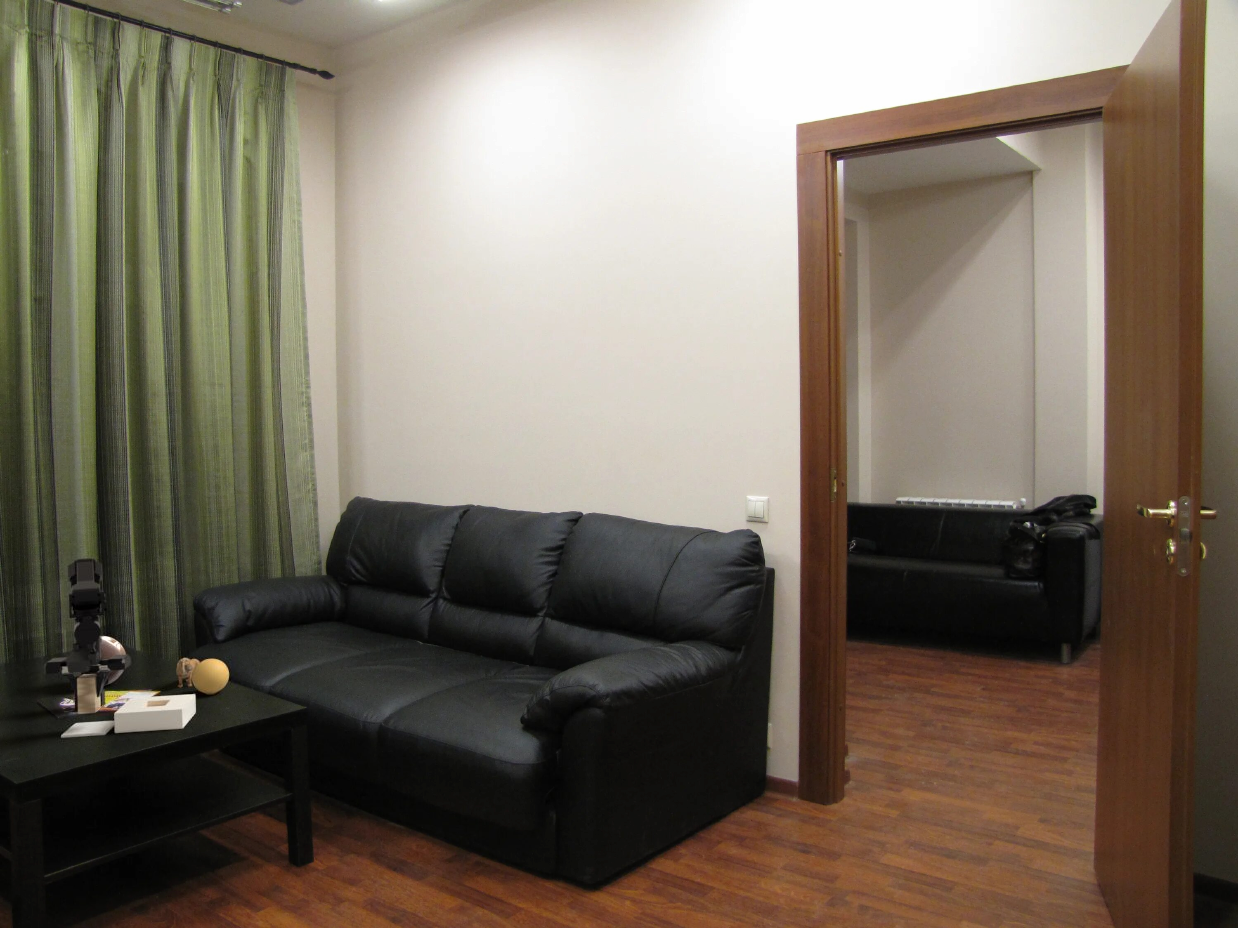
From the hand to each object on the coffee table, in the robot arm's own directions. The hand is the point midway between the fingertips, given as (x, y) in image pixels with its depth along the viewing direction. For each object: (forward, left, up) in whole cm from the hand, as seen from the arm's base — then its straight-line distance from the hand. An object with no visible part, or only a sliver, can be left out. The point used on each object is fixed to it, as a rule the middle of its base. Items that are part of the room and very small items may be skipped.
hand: (89, 697), depth 241 cm
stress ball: (+23, +29, -9) cm, 38 cm away
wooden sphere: (-12, +45, -9) cm, 47 cm away
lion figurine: (+15, +41, -9) cm, 45 cm away
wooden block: (0, 0, -4) cm, 4 cm away
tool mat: (0, 0, -8) cm, 8 cm away
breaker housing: (+15, +3, -8) cm, 17 cm away
